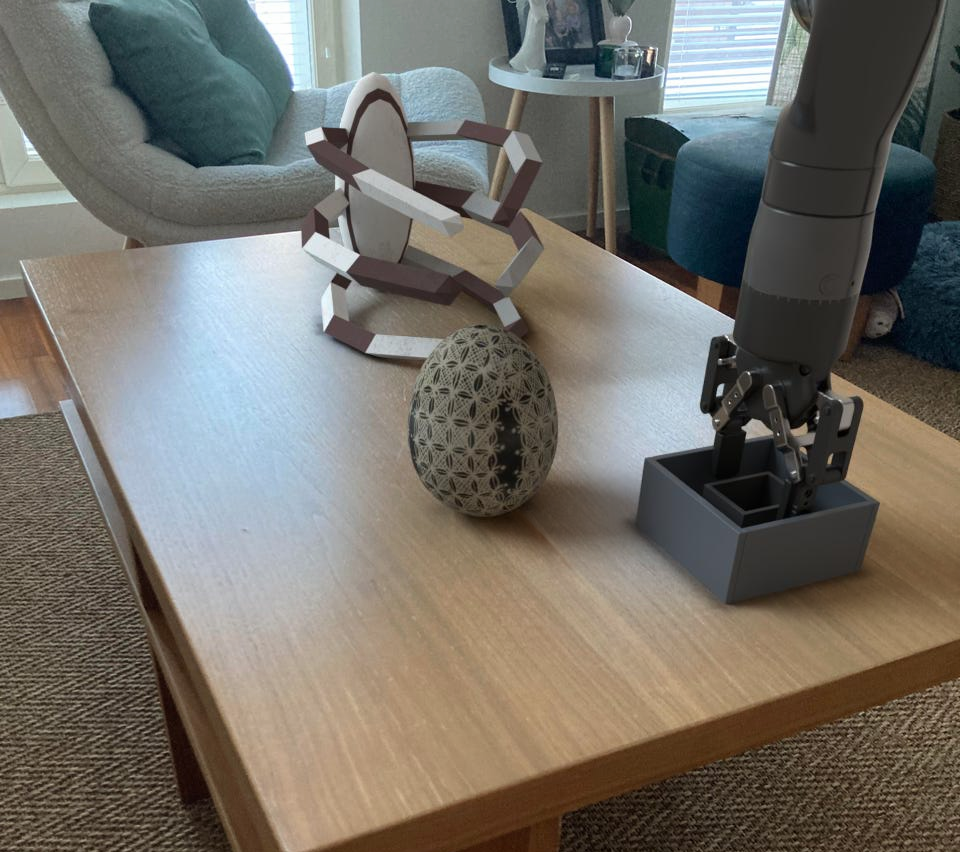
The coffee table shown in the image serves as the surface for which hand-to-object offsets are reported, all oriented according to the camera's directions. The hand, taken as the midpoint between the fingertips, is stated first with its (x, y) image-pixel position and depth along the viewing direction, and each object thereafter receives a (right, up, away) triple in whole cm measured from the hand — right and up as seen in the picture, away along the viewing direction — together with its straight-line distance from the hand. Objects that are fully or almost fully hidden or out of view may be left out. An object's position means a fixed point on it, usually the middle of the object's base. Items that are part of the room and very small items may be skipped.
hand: (755, 499), depth 77 cm
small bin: (0, -4, +3) cm, 4 cm away
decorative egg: (-21, 0, +8) cm, 22 cm away
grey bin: (0, -4, +3) cm, 5 cm away
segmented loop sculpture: (-28, +26, +42) cm, 57 cm away
